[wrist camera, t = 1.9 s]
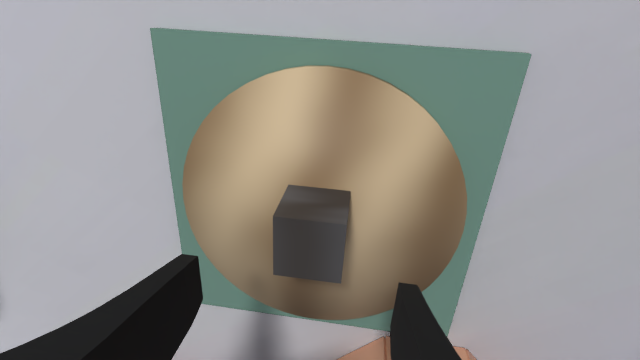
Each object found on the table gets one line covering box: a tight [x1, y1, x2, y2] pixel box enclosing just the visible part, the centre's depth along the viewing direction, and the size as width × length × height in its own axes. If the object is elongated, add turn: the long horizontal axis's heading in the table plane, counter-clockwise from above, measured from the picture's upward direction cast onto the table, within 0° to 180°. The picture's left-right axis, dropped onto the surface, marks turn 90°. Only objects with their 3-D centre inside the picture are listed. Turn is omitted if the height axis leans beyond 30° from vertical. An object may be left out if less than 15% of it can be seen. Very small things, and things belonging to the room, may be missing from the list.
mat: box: [150, 28, 531, 336], centre depth 18 cm, size 16×16×1 cm
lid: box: [182, 65, 467, 320], centre depth 16 cm, size 14×14×4 cm
